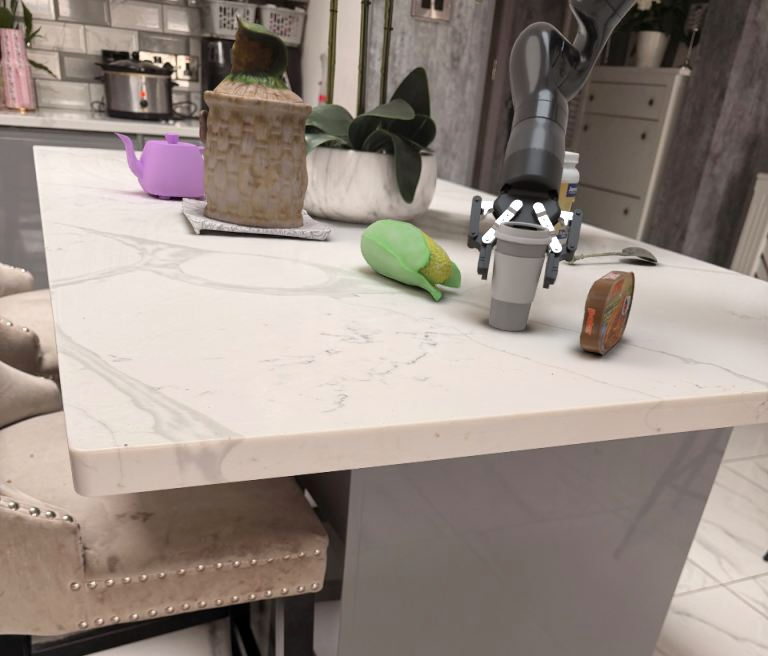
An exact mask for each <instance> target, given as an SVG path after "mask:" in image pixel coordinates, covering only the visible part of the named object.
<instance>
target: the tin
mask: <svg viewBox="0 0 768 656" xmlns="http://www.w3.org/2000/svg"><path fill="white" fill-rule="evenodd" d="M635 287H636V277H635V272H634V271H623V270H610V271H609V272H607V273H606V274H605V275H603V276H602V277H600V278H598V279H596V280H595V281H594V282H593V283H592V285H591V287H590V289H589V291H588V294H587V296H586V300H585V303H584V304H585V305H584V313H583V314H584V315H583V319H582V326H581V332H580V333H579V334H580V335H579V345H580V348H581V350H583V351H586V352H590V353H596V354H600V355H601V356H604V355H606V353H607V352H608V351H609V350H611V349H612V348H613V347H614V346H615V345H616V344H617V343H618V342H619V341H620V340H621V339H622V337H623V335H624V333H625V330H626V327H627V325H628V321H629V318H630V314H631V309H632V305H633V300H634V293H635Z"/></svg>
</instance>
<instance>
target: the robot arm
mask: <svg viewBox="0 0 768 656" xmlns="http://www.w3.org/2000/svg"><path fill="white" fill-rule="evenodd" d="M637 2H638V0H568V6H569V9H570V11H571V12H572V15H573V16H574V18H575V20H576V22H577V25H578V28H577V32H576V36H575V38H574V40H573V43H571V42H570V40H568V39H567V38H566V37H565V36H564V34H562V33H561V32H560V30H558V29H557V28H556V27H555V26H554V25H553V24H551V23H549V22H546V21H537V22H534V23H531V24H529V25H528V26H527V27H525V29H523V30H522V31H521V32H520V34H519V35H518V37H517V38H516V40H515V42H514V44H513V46H512V48H511V52H510V56H509V63H508V64H509V65H508V73H509V75H508V76H509V84H510V85H509V86H510V92H511V93H510V94H511V101H512V106H513V116H512V117H513V118H512V123H511V129H510V135H509V139H508V141H507V144H506V148H505V153H504V159H503V163H502V171H501V176H500V177H501V178H500V183H499V190H498V195H497V197H496V198H495V200H494V201H486V200H483V197H482V196H481V195H478V194H477V195H474V196H473V197H472V200H471V206H470V207H471V208H470V214H469V215H470V216H469V223H468V231H467V240H466V247H467V248H468V249H476V250H477V251H478V252H479V256H478V261H477V267H476V272H477V275H478V276H481V277H480V278H481V280H482V281H483V280H484V281H488V275H489V270H490V265H491V257H492V251H493V250H495V249H496V245H497V238H496V237H495V236H494V232H495V231H496V230H497V229H499V226H500V223H501V222H524V223H531V224H536V225H541V226H544V227H547V228H549V229H550V233H549V235H550V236H551V237H552V243H550V244H548V245H547V248H546V251H545V258H546V262H545V269H544V274H543V282H542V289H545V290H549V288H550V286H554V285H555V283H556V282H557V278H558V273H559V266H560V262H562V261H565V262H567V263H568V262H571V261H572V260H573V258H574V255H575V253H576V251H577V249H578V245H579V240H580V233H581V229H582V222H583V219H584V211H583V210H582V209H581V208H575V209H573V211H572V212H566V211H561V208H560V206H559V195H560V188H561V181H562V173H563V166H564V159H565V151H566V136H567V128H568V123H569V113H570V112H569V108H570V107H569V102H570V101H572V100H573V99H574V98H575V97H576V96H577V95H578V94H579V93H580V92H581V90H582V89H583V87H584V85H585V84H586V82H587V80H588V78H589V77H590V75H591V73H592V70H593V69H594V66H595V65H596V62H597V60H598V59H599V57H600V55H601V53H602V51H603V49H604V47H605V45H606V44H607V42H608V40H609V38H610V37H611V34H612V33H613V32H614V30H615V28H616V27H617V26H618V24H619V23H620V22H621V21H622V19H623V18H625V16H626V15H627V14H628V12H629V11H630V10H631V9H632V7H634V5H635V4H636V3H637ZM489 214H492V217H493V218H494V220H495V221H494V222H493V224H492V226H491V227H490V228H489V230H488V231H486V232H485V234H482V233H480V232H479V230H480V222H483V221H484V220H485V219H486V218H487V216H488V215H489ZM558 222H561V223H562V224H563V228H564V230H565V232H568V234H567V239H566V242H565V244H563V245H560V243H559V241H558V239H557V237H556V233H555V229H554V226H555V225H556V224H557V223H558ZM511 228H516V229H522V230H530V231H537V229H536V228H535V227H530V226H523V225H513V227H511Z"/></svg>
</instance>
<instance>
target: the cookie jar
mask: <svg viewBox="0 0 768 656" xmlns="http://www.w3.org/2000/svg"><path fill="white" fill-rule="evenodd" d="M235 18H236V22H237V31H236V32H235V35H234V38H235V41H234V43H233V45H232V46H231V50H232V55H231V56H232V61H233V64H232V67H231V70H230V72H229V74H228V75H227V76H226V77H225V78H224V79H223V80H222V81H220V83H219V84H217V86H216V87H215V88H214V89H213V90H205V91H204V92H203V100H204V102H205V104H206V105H207V107H208V110H207V109H203V110H200V113H199V117H198V119H199V120H198V123H199V124H198V125H199V129H198V137H199V141H200V142H201V143H202V144H203V145H204V146H203V147H204V151H203V155H202V158H203V160H204V165H203V189H204V193H205V195H204V196H205V198H206V201H204V200H203V201H201V200H198V199H196V200H193V199H187V198H185V197H182V202H181V208H182V211H183V212H182V213H183V215H184V216H185V217H186V218H187V220H188V222H189V223H190V224H191V226H192V228H193V230H194V232H195V234H196V235H199V234H200V233H201V232H200V231H201V230H211V231H212V230H213V231H221V232H222V231H223V232H233V233H247V234H248V233H249V234H264V235H265V234H266V235H276V236H286V237H297V238H301V239H307V240H320V241H325V240H326V239H327V237H328V236H329V235H330V233H331V228H330V227H327V226H326V225H323V224H322V223H321V222H320V221H317V220H315V219H313V218H312V217H311V216H310V215H309V214H308V212H307V210H305V209H304V206H305V205H304V204H305V203H304V202H305V200H306V199H305V198H306V193H307V189H308V186H309V173H308V168H307V155H308V154H307V153H308V146H307V140H306V125H307V120H308V118H309V117H310V116H311V114H312V112H313V106H312V105H311V104H310V103H307V102H306V103H305V102H304V100H303V99H302V97H300V95H298V94H296V93H295V92H293V91H292V90H291V89H290V88H289V86H288V85H287V84H286V82H285V81H284V80H283V76H284V75H285V72H286V71H287V67H288V64H289V52H288V47H287V45H286V43H285V42H284V41H283V40H282V39H281V38H280V36H279V35H278V34H276V33H275V32H273V31H271V30H270V29H269V28H268V27H266V26H264V25H263V24H260V23H255V22H254V23H253V22H246V21H244V20H243V19H242V17H241V15H240V14H236V15H235Z"/></svg>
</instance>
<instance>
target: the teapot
mask: <svg viewBox="0 0 768 656" xmlns="http://www.w3.org/2000/svg"><path fill="white" fill-rule="evenodd" d="M114 134H115V135H117V136H118V137H119V138H120V139H121V141H122V142H123V145H124V148H125V153H126V154H125V155H126V160H127V165H128V168H129V170H130V172H131V173H132V174H133V176H134V177H136V178H137V181H138V183H139V185H140V187H141V189H142V190H143V191H144V192H146V193H147V194H150V195H154V196H158V199H162V200H171V197H175V198H176V197H178V198H187V199H193V200H197V198H198V197H199V198H201V197H204V196H206V195H205V193H204V189H203V165H204V159H203V155H202V153H201V152H204V147H205V146H202V145H199V146H197V145H196V144H194V143H190V142H183V141H179V139H180V134H178V133H174V132H165V133H164V138H165V140H157V139H154V140H153V139H150V140H149V139H148V140H147V141H146V142H145V144H144V147H143V149H142V151H141V154H140V157H139V159H138V158H137V156H136V152H135V148H134V144H133V141H132V139H131V138H130V137H129V136H127V135H125V134H121V133H118V132H114Z"/></svg>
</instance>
